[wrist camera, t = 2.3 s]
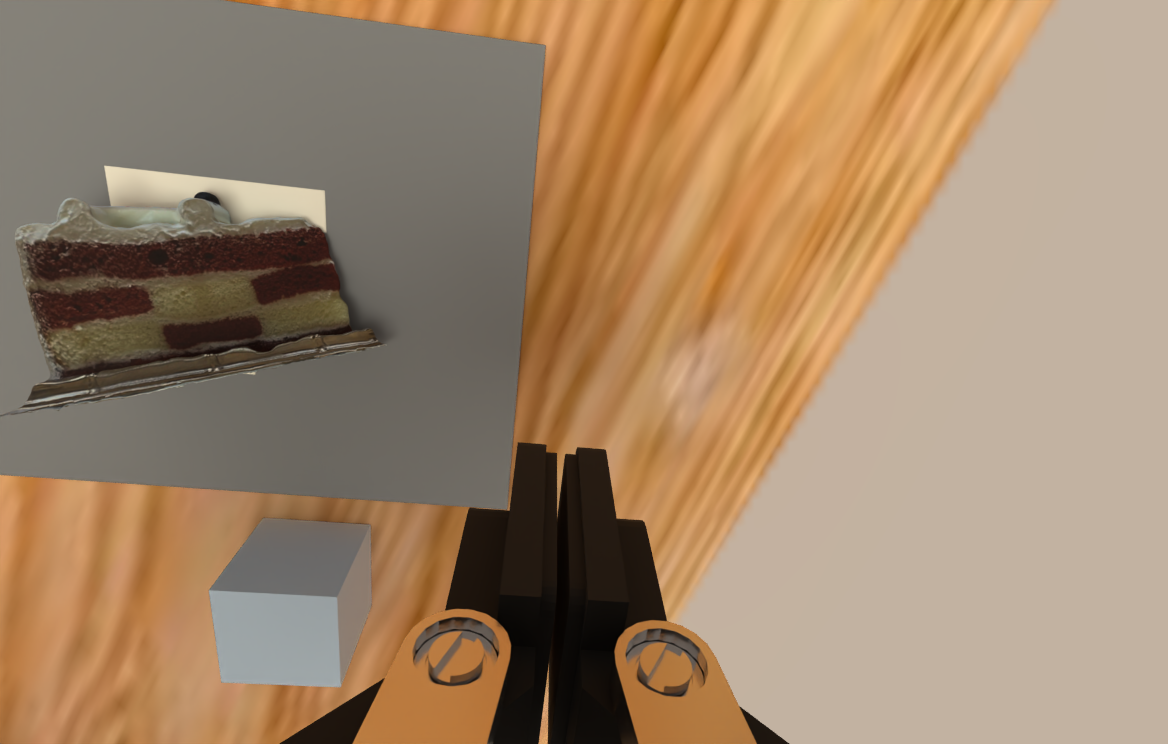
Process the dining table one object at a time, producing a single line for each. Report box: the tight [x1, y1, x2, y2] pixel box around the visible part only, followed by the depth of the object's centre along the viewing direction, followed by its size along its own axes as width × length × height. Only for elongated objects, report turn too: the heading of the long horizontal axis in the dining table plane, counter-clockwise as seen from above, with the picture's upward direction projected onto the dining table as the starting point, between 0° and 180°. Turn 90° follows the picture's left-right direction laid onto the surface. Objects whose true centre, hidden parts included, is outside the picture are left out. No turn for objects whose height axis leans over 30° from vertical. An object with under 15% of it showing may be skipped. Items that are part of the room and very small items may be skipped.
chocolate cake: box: [0, 192, 386, 417], centre depth 23 cm, size 10×7×12 cm
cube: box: [209, 518, 372, 687], centre depth 27 cm, size 5×5×5 cm
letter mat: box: [0, 0, 546, 510], centre depth 24 cm, size 20×24×1 cm
